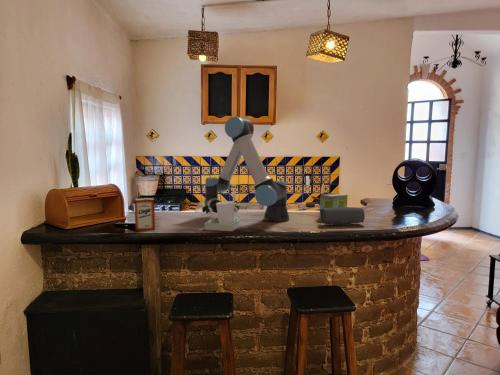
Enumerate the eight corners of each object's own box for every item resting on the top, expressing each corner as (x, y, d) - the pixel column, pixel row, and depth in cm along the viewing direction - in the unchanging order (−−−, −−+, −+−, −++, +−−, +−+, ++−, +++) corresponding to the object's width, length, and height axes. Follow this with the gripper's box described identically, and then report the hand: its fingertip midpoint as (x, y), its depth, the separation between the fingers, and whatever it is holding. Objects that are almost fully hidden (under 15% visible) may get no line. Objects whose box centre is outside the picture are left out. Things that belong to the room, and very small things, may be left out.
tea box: (332, 220, 212) (333, 196, 211) (319, 218, 220) (319, 194, 218) (347, 217, 222) (347, 194, 221) (333, 215, 230) (334, 192, 228)
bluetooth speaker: (357, 222, 207) (357, 205, 206) (364, 226, 198) (365, 208, 197) (319, 223, 203) (319, 206, 202) (325, 227, 194) (326, 209, 193)
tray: (240, 225, 197) (240, 219, 197) (232, 231, 183) (232, 224, 183) (214, 224, 201) (214, 217, 201) (204, 229, 186) (204, 222, 186)
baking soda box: (135, 230, 183) (134, 199, 181) (135, 228, 189) (134, 198, 187) (154, 229, 185) (154, 199, 184) (154, 227, 192) (153, 197, 190)
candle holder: (214, 226, 191) (212, 204, 190) (222, 222, 200) (220, 201, 199) (231, 226, 187) (229, 204, 186) (238, 222, 196) (236, 200, 195)
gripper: (236, 210, 212) (247, 217, 192) (193, 212, 204) (200, 219, 184) (236, 198, 212) (247, 203, 192) (193, 199, 204) (200, 205, 184)
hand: (224, 211), depth 188 cm, fingers open, 13 cm apart
